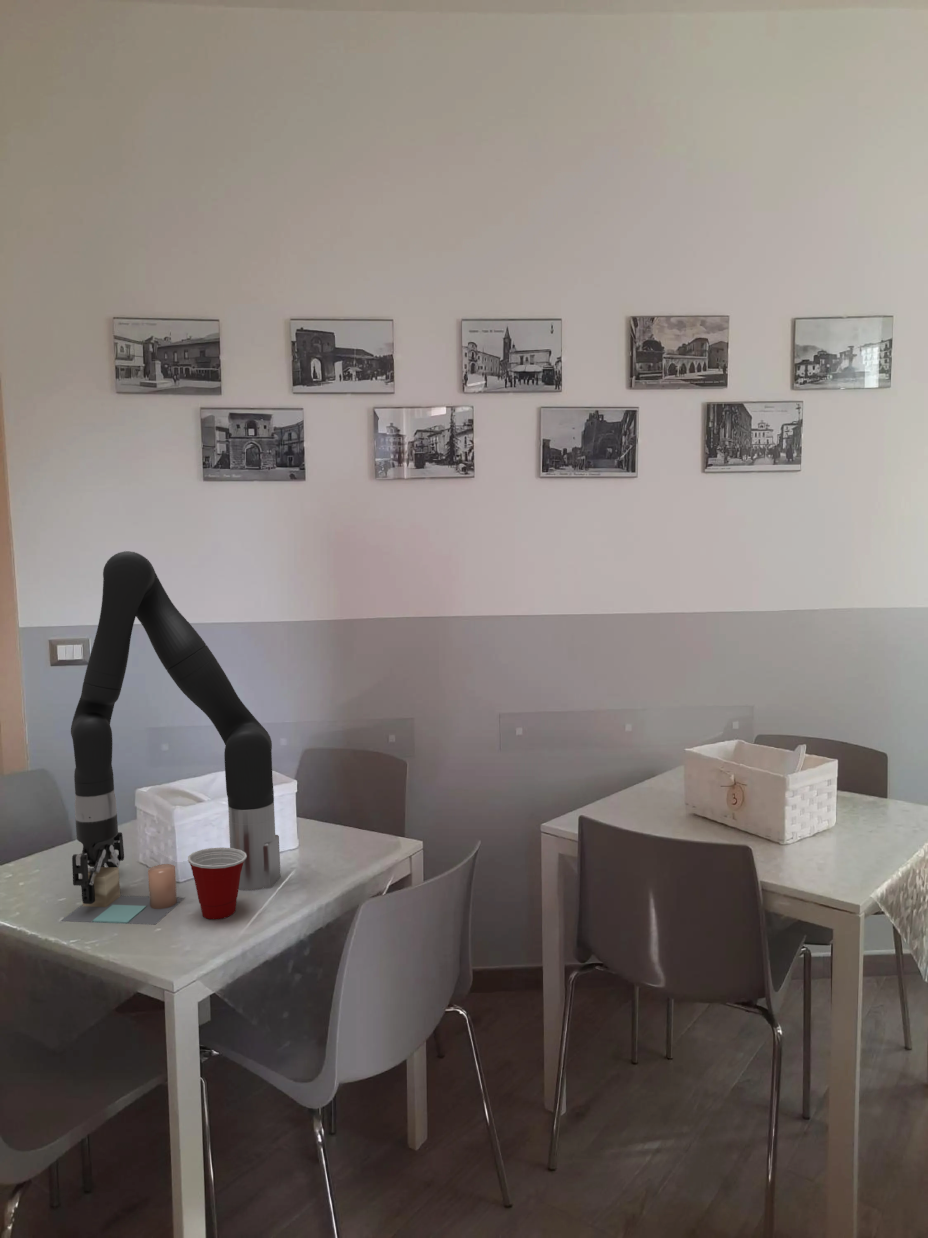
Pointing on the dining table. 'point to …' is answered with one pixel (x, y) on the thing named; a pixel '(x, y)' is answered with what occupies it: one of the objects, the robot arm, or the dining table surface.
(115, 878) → the beech block
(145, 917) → the slate mat
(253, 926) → the dining table surface
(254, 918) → the dining table surface
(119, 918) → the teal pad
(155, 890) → the terracotta cylinder
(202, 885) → the plastic cup
